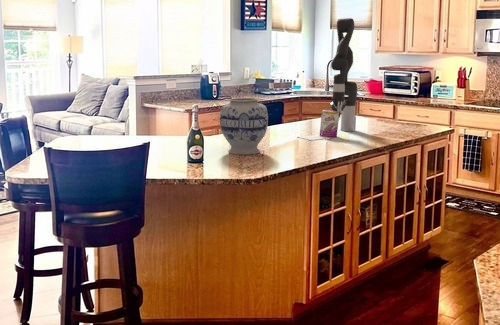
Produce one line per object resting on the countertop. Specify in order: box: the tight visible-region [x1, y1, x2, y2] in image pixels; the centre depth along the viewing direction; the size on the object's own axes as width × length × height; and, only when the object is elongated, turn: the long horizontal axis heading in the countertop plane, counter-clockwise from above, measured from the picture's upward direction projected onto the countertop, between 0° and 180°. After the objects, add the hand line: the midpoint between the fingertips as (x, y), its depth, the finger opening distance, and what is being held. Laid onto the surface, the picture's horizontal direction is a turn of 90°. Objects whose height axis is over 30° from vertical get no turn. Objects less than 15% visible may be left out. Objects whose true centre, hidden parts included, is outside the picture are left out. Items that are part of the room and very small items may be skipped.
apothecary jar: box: [219, 97, 269, 156], centre depth 352 cm, size 27×27×30 cm
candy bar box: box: [319, 109, 340, 138], centre depth 406 cm, size 11×5×16 cm, turn 84°
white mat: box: [297, 134, 331, 141], centre depth 403 cm, size 16×14×1 cm
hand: (337, 117), depth 409 cm, fingers closed
